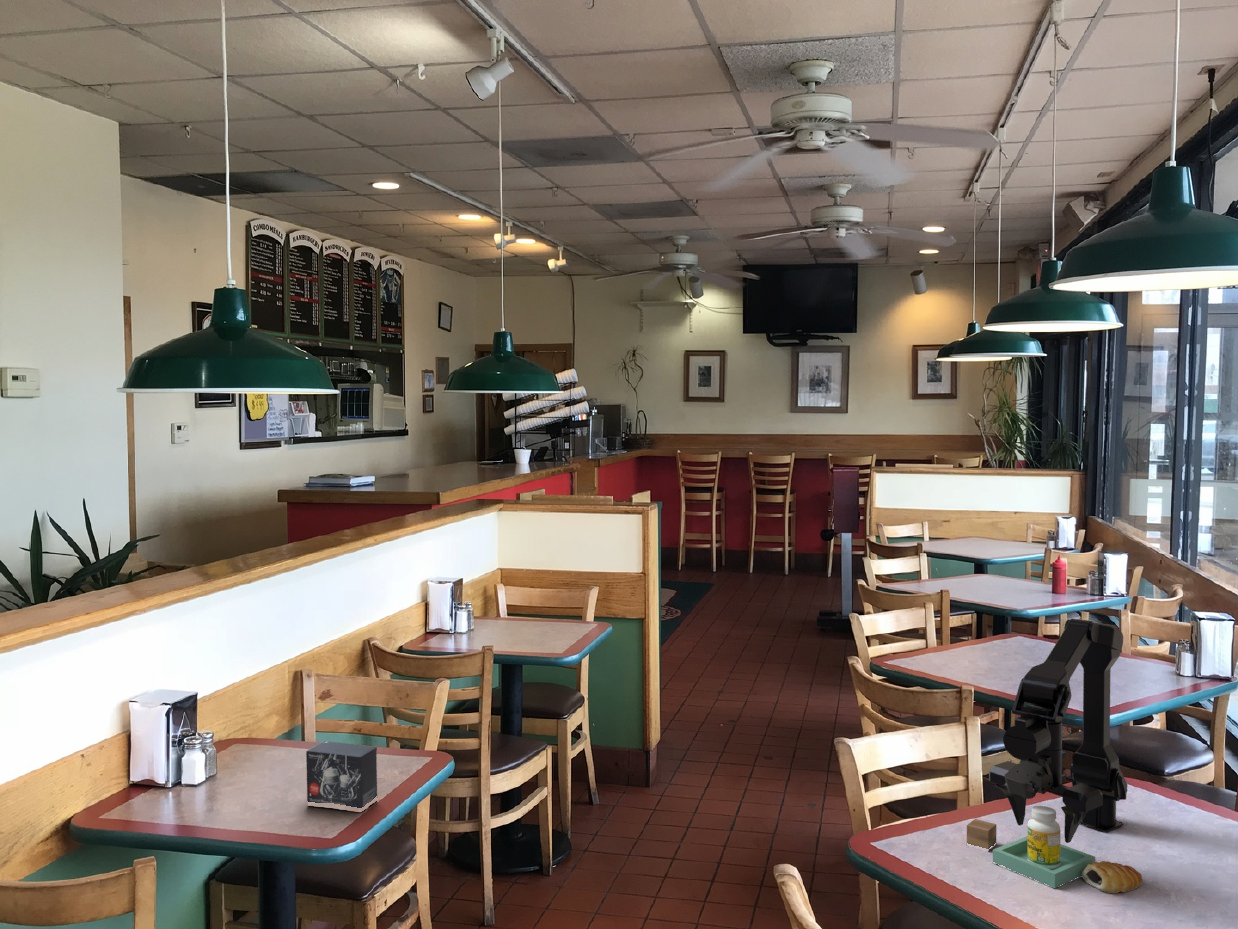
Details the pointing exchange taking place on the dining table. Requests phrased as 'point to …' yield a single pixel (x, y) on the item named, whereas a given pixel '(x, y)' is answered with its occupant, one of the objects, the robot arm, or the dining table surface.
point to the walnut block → (981, 833)
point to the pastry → (1112, 876)
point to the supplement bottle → (1044, 837)
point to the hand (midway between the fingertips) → (1043, 833)
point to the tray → (1018, 861)
